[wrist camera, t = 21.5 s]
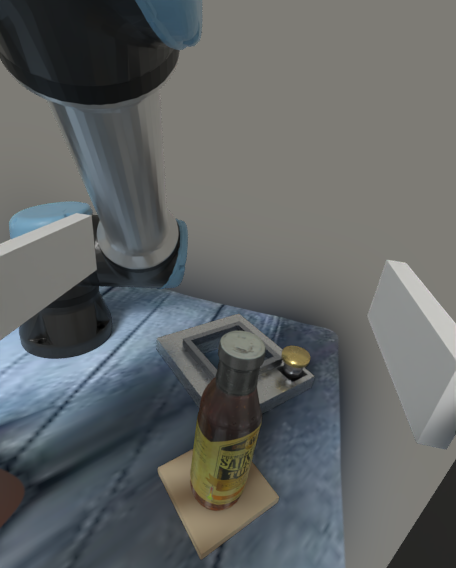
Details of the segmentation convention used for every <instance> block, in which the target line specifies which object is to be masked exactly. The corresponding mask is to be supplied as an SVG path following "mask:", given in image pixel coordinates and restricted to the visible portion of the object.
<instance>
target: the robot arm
mask: <svg viewBox="0 0 456 568" xmlns="http://www.w3.org/2000/svg"><path fill="white" fill-rule="evenodd" d="M201 30H202V0H0V59H1V61H2V63H3V64H4V66H5V67H6V69H7V70H8V72H9V73H10V75H12V77H13V78H14V79H16V81H17V82H18V83H19V84H21V85H22V86H23V87H25V88H26V89H27V90H29V91H31V92H32V93H34V94H36V95H38V96H40V97H42V98H44V99H46V100H47V102H48V104H49V106H50V109H51V111H52V113H53V115H54V117H55V120H56V122H57V124H58V127H59V129H60V131H61V133H62V136H63V138H64V140H65V142H66V144H67V147H68V149H69V151H70V154H71V156H72V158H73V160H74V163H75V165H76V167H77V169H78V172H79V174H80V176H81V178H82V181H83V183H84V185H85V187H86V189H87V192H88V194H89V196H90V199H91V201H92V203H93V205H94V207H95V210H96V212H97V214H98V215H93V214H92V213H93V212H92V209H91V207H90V206H89V205H88V204H86V203H81V202H58V203H50V204H44V205H38V206H34V207H30V208H28V209H24V210H22V211H20V212H18V213H16V214H15V215H14V216H13V217H12V218H11V220H10V222H9V229H10V237H11V240H8V241H6V242H3V243H1V244H0V340H1V339H3V338H4V337H5V336H7V335H8V334H10V333H11V332H12V331H14V330H15V329H16V328H18V327H19V326H20V327H19V335H20V339H21V343H22V346H23V348H24V349H25V350H26V351H27V352H29V353H31V354H33V355H35V356H38V357H43V358H66V357H72V356H76V355H80V354H83V353H86V352H88V351H91V350H93V349H95V348H96V347H98V346H99V345H101V344H102V343H103V342H105V341H106V340H107V339H108V337H109V336H110V334H111V332H112V317H111V314H110V312H109V310H108V308H107V306H106V304H105V302H104V300H103V298H102V296H101V294H100V292H99V286H111V287H142V288H157V289H164V288H174V287H177V286H179V284H180V283H181V282H182V279H183V276H184V271H185V263H186V257H187V246H188V231H187V225H186V224H185V222H184V221H182V220H178V219H175V217H174V216H173V214H172V213H171V212H170V211H169V210H168V209H167V202H166V185H165V169H164V152H163V136H162V118H161V102H160V88H162V86H164V85H165V84H166V83H167V81H168V80H169V79H170V78H171V76H172V75H173V73H174V71H175V69H176V66H177V64H178V59H179V50H183V49H184V48H186V47H187V46H189V47H191V46H195V45H196V44H197V43H198V42H199V41H200V38H201V33H202V31H201ZM368 319H369V321H370V324H371V327H372V329H373V332H374V334H375V337H376V340H377V342H378V345H379V347H380V350H381V353H382V355H383V358H384V360H385V363H386V365H387V368H388V371H389V373H390V376H391V379H392V381H393V384H394V386H395V389H396V392H397V394H398V397H399V399H400V402H401V405H402V407H403V410H404V412H405V415H406V417H407V420H408V422H409V425H410V428H411V430H412V433H413V436H414V438H415V441H416V443H418V444H422V445H427V446H432V447H436V448H441V449H447V448H448V446H449V444H450V443H451V441H452V440H453V438H454V436H455V435H456V323H455V322H454V321H453V320H452V319H451V317H450V316H449V315H448V314H447V312H446V311H445V310H444V309H443V308H442V306H441V305H440V304H439V303H438V301H437V300H436V299H435V298H434V296H433V295H432V294H431V293H430V292H429V290H428V289H427V288H426V287H425V285H424V284H423V283H422V282H421V281H420V279H419V278H418V277H417V276H416V274H415V273H414V272H413V271H412V270H411V268H410V267H409V266H408V265H407V263H404V262H397V261H391V260H387V261H386V263H385V266H384V269H383V272H382V275H381V278H380V281H379V284H378V287H377V290H376V292H375V296H374V298H373V302H372V304H371V307H370V310H369V313H368ZM387 568H456V460H455V462H454V463H453V465H452V466H451V468H450V469H449V471H448V472H447V474H446V476H445V477H444V479H443V480H442V482H441V484H440V485H439V487H438V488H437V490H436V491H435V493H434V494H433V496H432V498H431V499H430V501H429V502H428V504H427V506H426V507H425V508H424V510H423V512H422V513H421V515H420V516H419V518H418V519H417V521H416V522H415V524H414V526H413V527H412V529H411V530H410V532H409V533H408V535H407V537H406V538H405V540H404V541H403V543H402V544H401V546H400V548H399V549H398V551H397V552H396V554H395V555H394V557H393V559H392V560H391V562H390V563H389V565H388V566H387Z"/></svg>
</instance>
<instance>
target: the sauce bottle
mask: <svg viewBox="0 0 456 568" xmlns="http://www.w3.org/2000/svg"><path fill="white" fill-rule="evenodd" d="M265 352H266V347H265V344H264V342H263V341H262V339H261V338H259V337H258V336H256V335H255V334H252V333H250V332H246V331H232V332H228V333H227V334H225V335H223V336H222V338H221V340H220V343H219V349H218V356H219V364H218V370H217V372H216V377H215V378H213V380H211V382H210V383H209V384H208V385H207V387H206V388H205V390H204V392H203V394H202V397H201V401H200V409H199V412H198V417H197V424H196V432H195V440H194V448H193V455H192V463H191V470H190V477H191V480H190V484H191V489H192V493H193V495H194V497H195V499H196V500H197V501H198V503H199V504H200V505H202V506H203V507H205V508H206V509H209V510H213V511H220V510H224V509H227V508H229V507H232V506H233V505H234V504H235V503H237V501H238V499H239V498H240V496H241V494H242V492H243V491H244V488H245V486H246V482H247V478H248V474H249V470H250V466H251V462H252V458H253V454H254V450H255V446H256V442H257V438H258V434H259V430H260V427H261V422H262V412H261V408H260V403H259V397H258V390H257V384H258V374H259V370H260V366H261V365H262V364H263V362H264V357H265Z"/></svg>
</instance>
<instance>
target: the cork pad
mask: <svg viewBox="0 0 456 568" xmlns="http://www.w3.org/2000/svg"><path fill="white" fill-rule="evenodd" d="M192 455H193V449H192V450H190V451H189V452H187V453H185V454H183V455H181V456H179V457H177V458H175V459H173V460H172V461H170V462H168V463H166V464H164V465H162V466H160V467H158V474H159V476H160V478H161V480H162V482H163V484H164V486H165V488H166V490H167V492H168V494H169V496H170V498H171V500H172V502H173V505H174V507H175V509H176V511H177V513H178V515H179V517H180V519H181V521H182V523H183V525H184V527H185V529H186V531H187V533H188V535H189V537H190V539H191V541H192V543H193V545H194V547H195V549H196V551H197V553H198V555H199V557H200V559H201V560H202V559H203V558H204V557H206V556H207V555H208V554H210V553H211V552H212V551H214V550H215V549H216V548H218V547H219V546H220V545H222V544H223V543H224V542H226V541H227V540H228V539H230V538H231V537H232V536H234V535H235V534H236V533H238V532H239V531H240V530H242V529H243V528H244V527H246V526H247V525H248V524H250V523H251V522H252V521H254V520H255V519H256V518H258V517H259V516H260V515H262V514H263V513H264V512H266V511H267V510H268V509H270V508H271V507H272V506H274V505H275V504H276V503H278V500H279V496H278V495H277V494H276V492H275V491H274V490H273V488H272V487H271V486H270V484H269V483H268V482H267V481H266V479H265V478H264V477H263V475H262V474H261V473H260V471H259V470H258V469H257V467H256V466H255V465H254V464H253V462H251V466H250V470H249V474H248V478H247V482H246V486H245V488H244V491H243V492H242V494H241V496H240V498H239V499H238V501H237V503H235V504H234V505H233V506H232V507H229V508H227V509H224V510H220V511H213V510H209V509H206V508H205V507H203V506H202V505H200V504H199V503H198V501H197V500H196V499H195V497H194V495H193V493H192V489H191V484H190V480H191V477H190V470H191V463H192Z"/></svg>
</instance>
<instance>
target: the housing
mask: <svg viewBox="0 0 456 568" xmlns="http://www.w3.org/2000/svg"><path fill="white" fill-rule="evenodd" d="M232 331H246V332H250V333H252V334H255V335H256V336H258V337H259V338H261V339H262V341H263V342H264V344H265V347H266V352H265V357H264V362H263V364H262V365H261V366H260V370H259V374H258V384H257V390H258V397H259V403H260V408H261V412H262V414H263V413H265V412H267V411H269V410H271V409H273V408H274V407H276V406H278V405H280V404H282V403H284V402H286V401H288V400H289V399H291V398H293V397H295V396H297V395H299V394H301V393H303V392H304V391H306V390H308V389H310V388H311V387H312V384H313V380H314V377H315V376H314V375H313V374H311V373H310V372H309V371H308V370H306V369H305V368H303V370H302V374H301V377H300V379H298V380H296V381H294V382H291V381H290V380H289V379H288V378H286V377H285V376H284V375H283V374H282V371H283V366H284V361H283V360H282V358H281V355H282V349H281V348H280V347H279V346H277V345H276V344H275V343H274V342H273V341H271V340H270V339H269V338H268V337H267V336H265V335H264V334H263V333H262V332H261V331H259V330H258V329H257V328H256V327H254V326H253V325H252V324H251V323H250V322H248V321H247V320H246V319H245V318H244V317H242V316H241V315H240V314H236V315H233V316H229V317H226V318H223V319H219V320H216V321H212V322H209V323H206V324H202V325H199V326H196V327H192V328H189V329H186V330H182V331H179V332H176V333H172V334H169V335H165V336H162V337H159V338H157V351H158V352H159V353H160V355H161V356H162V358H163V359H164V360H165V362H166V363H167V364H168V366H169V367H170V369H171V370H172V371H173V373H174V374H175V375H176V377H177V378H178V380H179V381H180V382H181V384H182V385H183V387H184V388H185V389H186V391H187V392H188V393H189V395H190V396H191V398H192V399H193V400H194V402H195V403H196V404H197V406H198V407H199V409H200V401H201V397H202V394H203V392H204V390H205V388H206V387H207V385H208V384H209V383H210V382H211V380H213V378H215V377H216V372H217V369H216V368H215V367H214V366H213V365H212V364H211V362H210V361H209V360H208V359H207V358H206V357H205V356H204V355H203V354H205V353H208V352H211V351H213V350H216V349H219V343H220V340H221V338H222V336H223V335H225V334H227V333H228V332H232Z"/></svg>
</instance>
